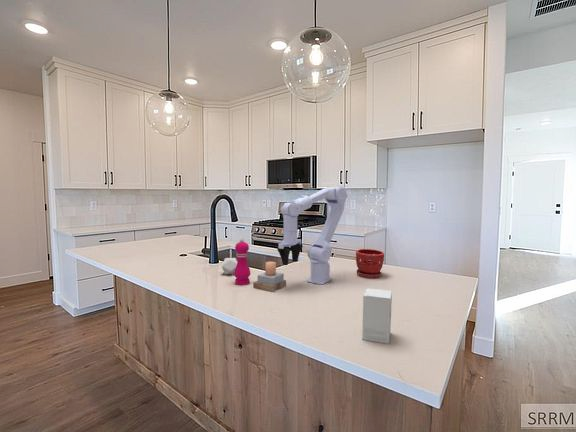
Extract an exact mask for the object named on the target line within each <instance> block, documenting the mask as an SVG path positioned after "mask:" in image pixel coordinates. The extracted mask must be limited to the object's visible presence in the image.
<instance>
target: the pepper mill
mask: <svg viewBox="0 0 576 432" xmlns="http://www.w3.org/2000/svg"><path fill="white" fill-rule="evenodd" d="M249 249H250V247H249V244H248V243H247V242H245V240H244V238H240V239H239V242H237V243H236V244H235V246H234V250H235V251H236V253H235V255H236V260H237V265H236V268H235V271H234V277H235V279H234V280H235V285H237V284H238V286H244V285H245V284H246V285H248V283H249V284H250V278H249V277H250V276H251V269H250V267H249V264H248V258H247V257H248V252H249ZM246 285H245V286H246Z"/></svg>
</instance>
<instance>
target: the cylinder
mask: <svg viewBox="0 0 576 432" xmlns="http://www.w3.org/2000/svg"><path fill="white" fill-rule="evenodd" d="M264 269H265V270H264V271H265V272H264V273H265V275H267V276H274V275H276V272H277V262H276V261H266V262H265V268H264Z"/></svg>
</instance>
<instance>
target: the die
mask: <svg viewBox="0 0 576 432" xmlns="http://www.w3.org/2000/svg"><path fill="white" fill-rule="evenodd" d="M237 260H238V259H237V257H225V258H224V260H223V261H222V262H223V263H222V265H221V268H222V271H223V273H224V275H225V276H233V275H232V274H234V271H235V268H236V265H237Z"/></svg>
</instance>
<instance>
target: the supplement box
mask: <svg viewBox="0 0 576 432" xmlns="http://www.w3.org/2000/svg"><path fill="white" fill-rule="evenodd" d="M392 292H393V291H392V290H389V289H388V290H387V289H378V288H366V289H365V290H364V294H363V297H362V300H363V301H362V332H361V333H362V335H361V337H362V340H365V341H370V342H376V343H382V344H390V337H391V328H392V326H391V325H392V301H393V298H392V297H393V294H392Z"/></svg>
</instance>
